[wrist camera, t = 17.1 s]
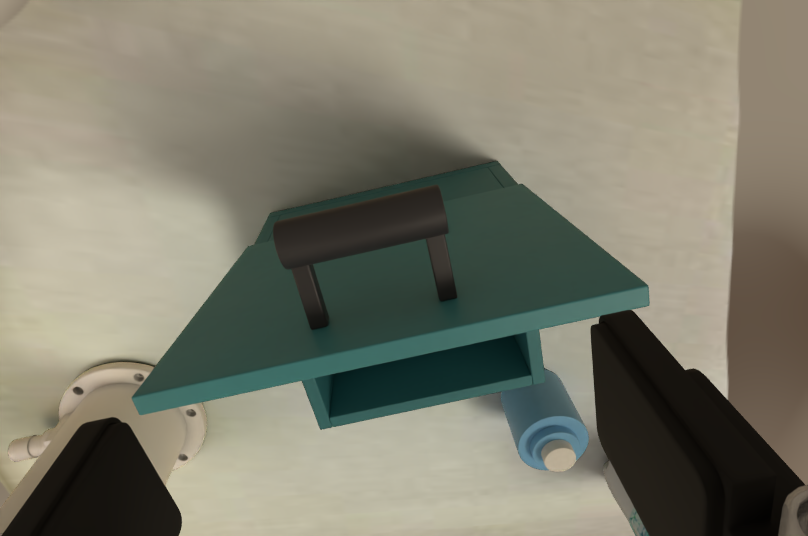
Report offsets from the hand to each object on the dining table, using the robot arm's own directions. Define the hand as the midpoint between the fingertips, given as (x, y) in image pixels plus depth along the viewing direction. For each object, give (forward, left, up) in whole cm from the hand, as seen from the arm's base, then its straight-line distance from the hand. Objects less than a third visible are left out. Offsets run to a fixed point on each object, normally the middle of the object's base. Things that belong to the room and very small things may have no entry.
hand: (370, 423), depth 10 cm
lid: (0, -4, -15) cm, 16 cm away
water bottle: (+9, -28, -31) cm, 42 cm away
